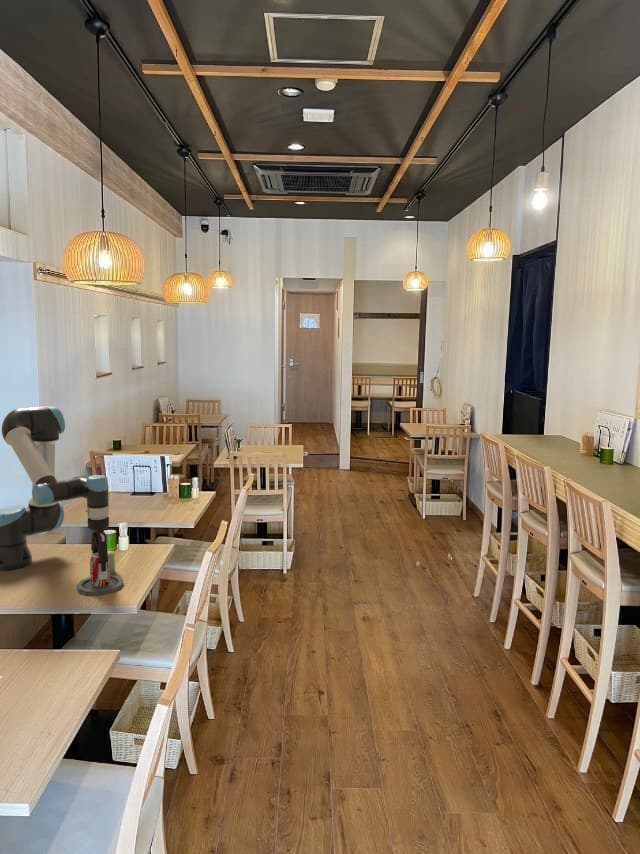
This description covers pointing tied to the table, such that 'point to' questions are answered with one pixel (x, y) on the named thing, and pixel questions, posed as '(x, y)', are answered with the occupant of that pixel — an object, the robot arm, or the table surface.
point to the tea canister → (112, 561)
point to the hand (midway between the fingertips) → (100, 574)
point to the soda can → (95, 572)
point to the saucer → (114, 585)
